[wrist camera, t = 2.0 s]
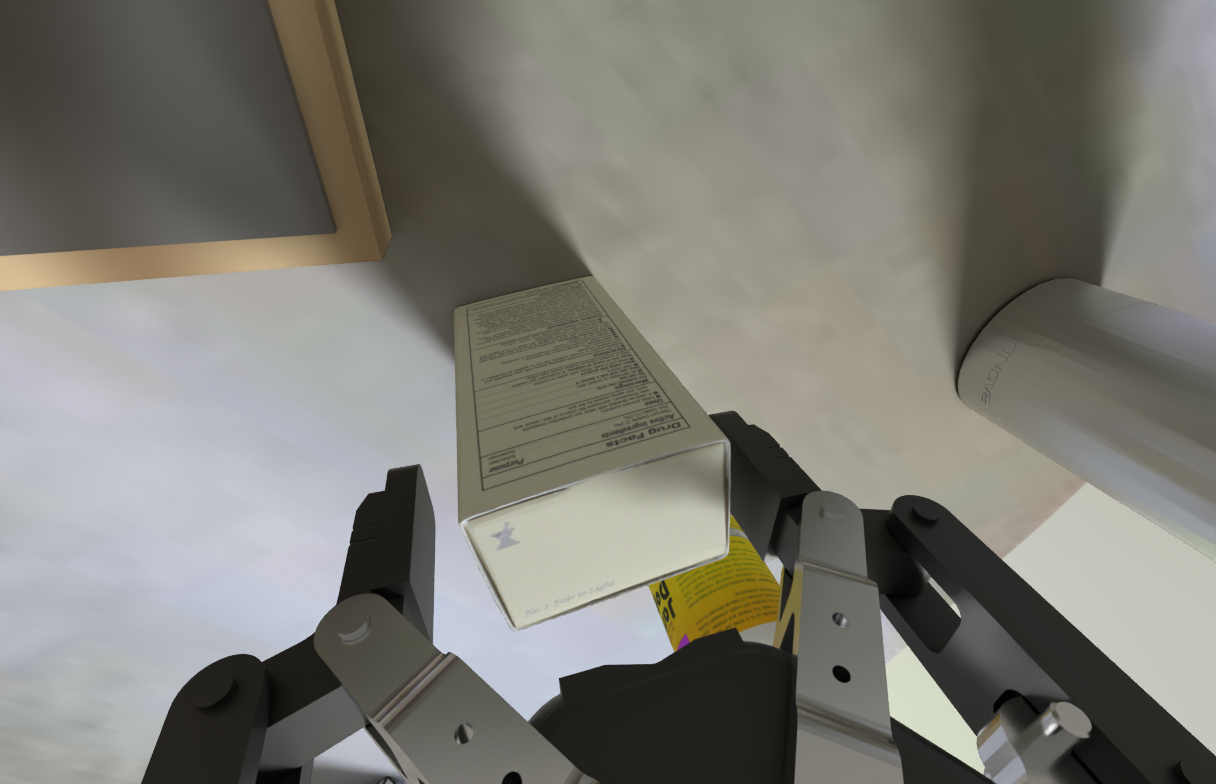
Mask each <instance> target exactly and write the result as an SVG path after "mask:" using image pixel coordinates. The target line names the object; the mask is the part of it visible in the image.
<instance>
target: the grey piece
mask: <svg viewBox="0 0 1216 784" xmlns="http://www.w3.org/2000/svg"><path fill="white" fill-rule="evenodd" d="M378 784H396V783H395V782H394V781H393V780H392V779H391V778H390V777H386V778H384V779H383V780H382V781H380V782H379V783H378Z"/></svg>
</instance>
